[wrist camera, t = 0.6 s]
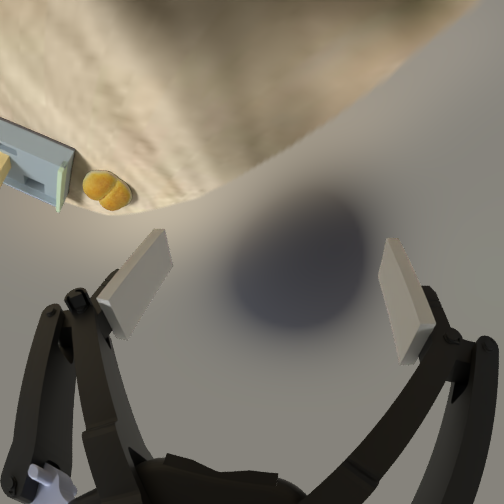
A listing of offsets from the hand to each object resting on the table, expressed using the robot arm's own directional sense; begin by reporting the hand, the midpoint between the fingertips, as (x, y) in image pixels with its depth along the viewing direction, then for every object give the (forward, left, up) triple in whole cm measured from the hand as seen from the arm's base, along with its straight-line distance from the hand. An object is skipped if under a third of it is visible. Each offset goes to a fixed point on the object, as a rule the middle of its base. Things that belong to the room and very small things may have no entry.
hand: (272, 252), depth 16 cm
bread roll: (+14, -31, -18) cm, 38 cm away
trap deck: (+2, -44, -17) cm, 47 cm away
